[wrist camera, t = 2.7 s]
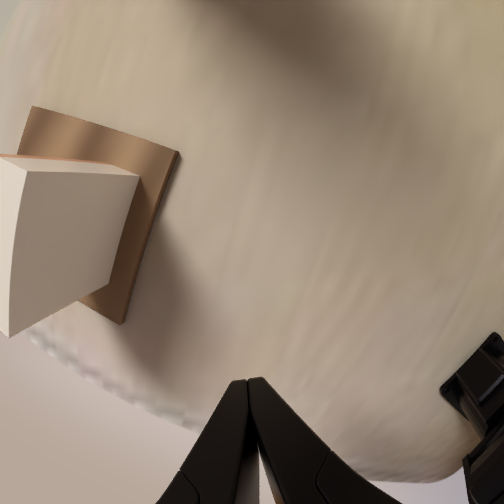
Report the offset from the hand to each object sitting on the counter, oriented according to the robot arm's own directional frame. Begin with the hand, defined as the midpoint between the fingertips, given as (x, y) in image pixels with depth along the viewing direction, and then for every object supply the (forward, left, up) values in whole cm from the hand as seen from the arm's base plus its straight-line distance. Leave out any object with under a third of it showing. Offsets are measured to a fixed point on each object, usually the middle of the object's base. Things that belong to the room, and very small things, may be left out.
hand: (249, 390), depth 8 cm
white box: (+11, +5, -12) cm, 17 cm away
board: (+15, +7, -12) cm, 20 cm away
